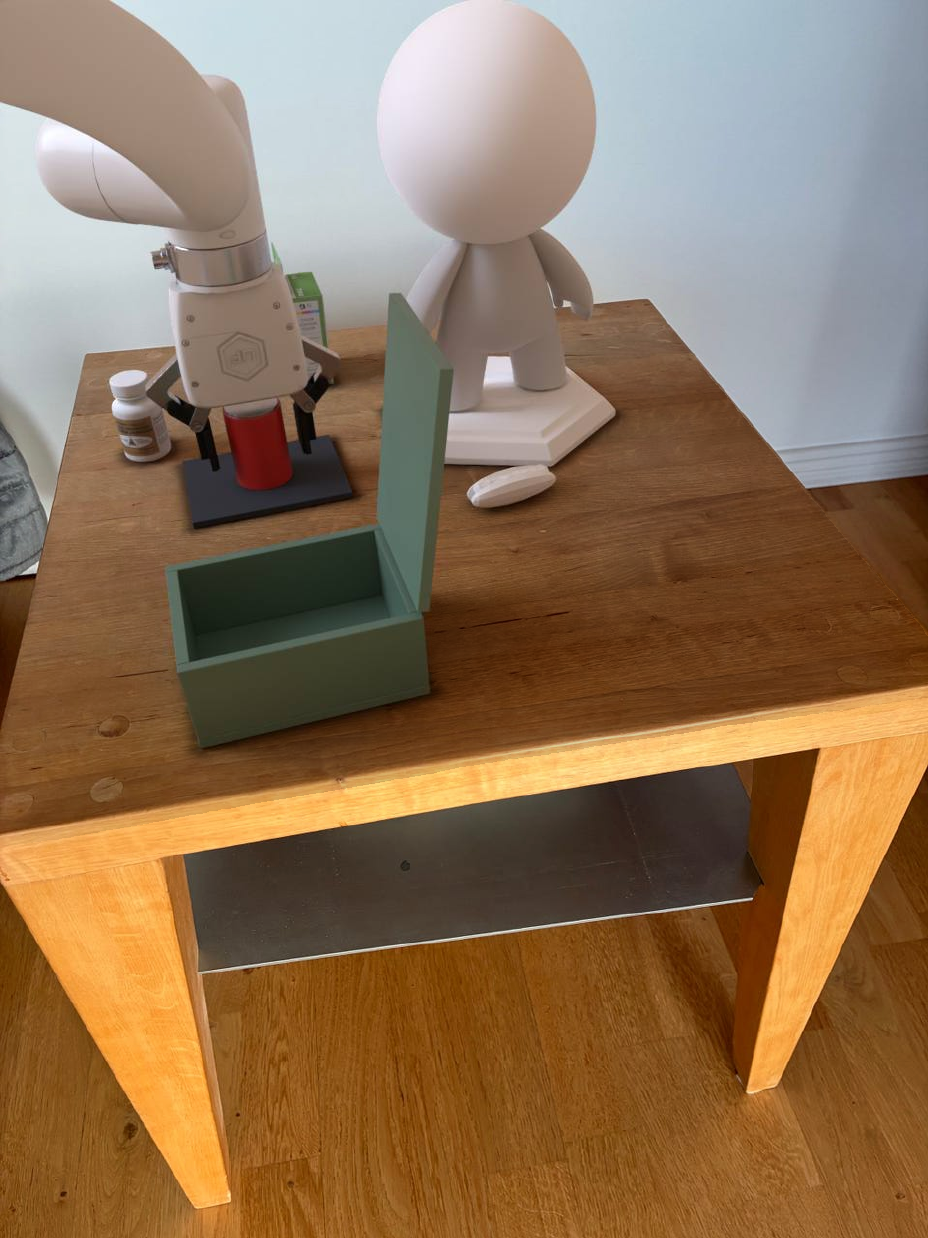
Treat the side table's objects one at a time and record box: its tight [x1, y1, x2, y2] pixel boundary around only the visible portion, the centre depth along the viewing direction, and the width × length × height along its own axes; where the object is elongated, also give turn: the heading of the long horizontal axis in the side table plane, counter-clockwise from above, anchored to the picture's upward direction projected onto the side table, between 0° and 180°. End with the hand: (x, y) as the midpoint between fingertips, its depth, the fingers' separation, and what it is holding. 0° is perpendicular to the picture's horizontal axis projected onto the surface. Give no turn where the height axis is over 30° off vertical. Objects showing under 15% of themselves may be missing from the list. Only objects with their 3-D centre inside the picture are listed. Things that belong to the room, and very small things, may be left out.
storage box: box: [164, 522, 431, 749], centre depth 67 cm, size 16×12×7 cm
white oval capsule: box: [466, 464, 557, 509], centre depth 84 cm, size 3×8×3 cm, turn 115°
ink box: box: [270, 241, 335, 385], centre depth 101 cm, size 7×4×13 cm, turn 15°
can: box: [221, 397, 292, 490], centre depth 86 cm, size 5×5×7 cm
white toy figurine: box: [376, 0, 616, 468], centre depth 86 cm, size 20×23×35 cm
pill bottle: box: [109, 369, 172, 463], centre depth 91 cm, size 4×4×8 cm
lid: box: [376, 292, 454, 613], centre depth 61 cm, size 16×12×1 cm
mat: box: [182, 434, 354, 529], centre depth 89 cm, size 14×11×1 cm
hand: (260, 454), depth 87 cm, fingers open, 7 cm apart
